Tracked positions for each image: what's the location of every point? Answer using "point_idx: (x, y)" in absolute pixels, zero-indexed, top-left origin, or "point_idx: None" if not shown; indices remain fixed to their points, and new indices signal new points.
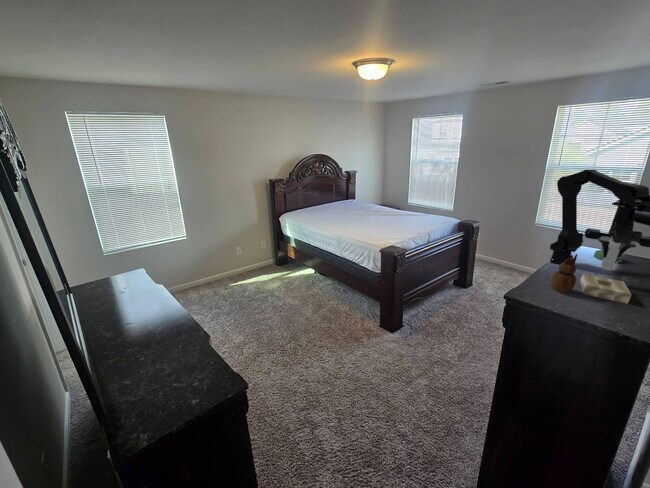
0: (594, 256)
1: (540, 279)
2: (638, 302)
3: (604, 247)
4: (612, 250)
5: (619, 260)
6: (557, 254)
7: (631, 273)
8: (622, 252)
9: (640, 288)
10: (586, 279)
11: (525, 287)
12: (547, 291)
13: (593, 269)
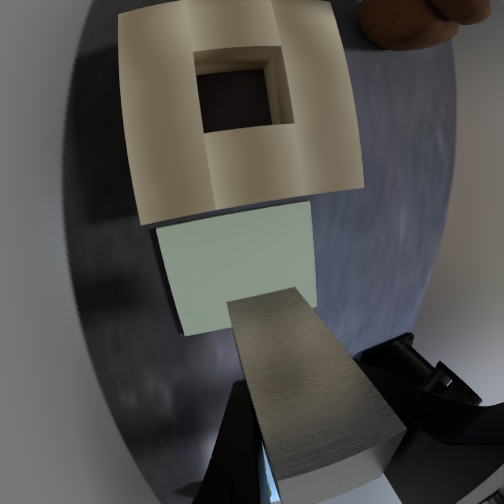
0: (267, 481)
1: (442, 112)
2: (83, 116)
3: (443, 402)
4: (352, 425)
5: None
6: (424, 367)
7: (158, 446)
8: (222, 460)
9: (93, 329)
10: (343, 84)
11: None
12: None
13: None
